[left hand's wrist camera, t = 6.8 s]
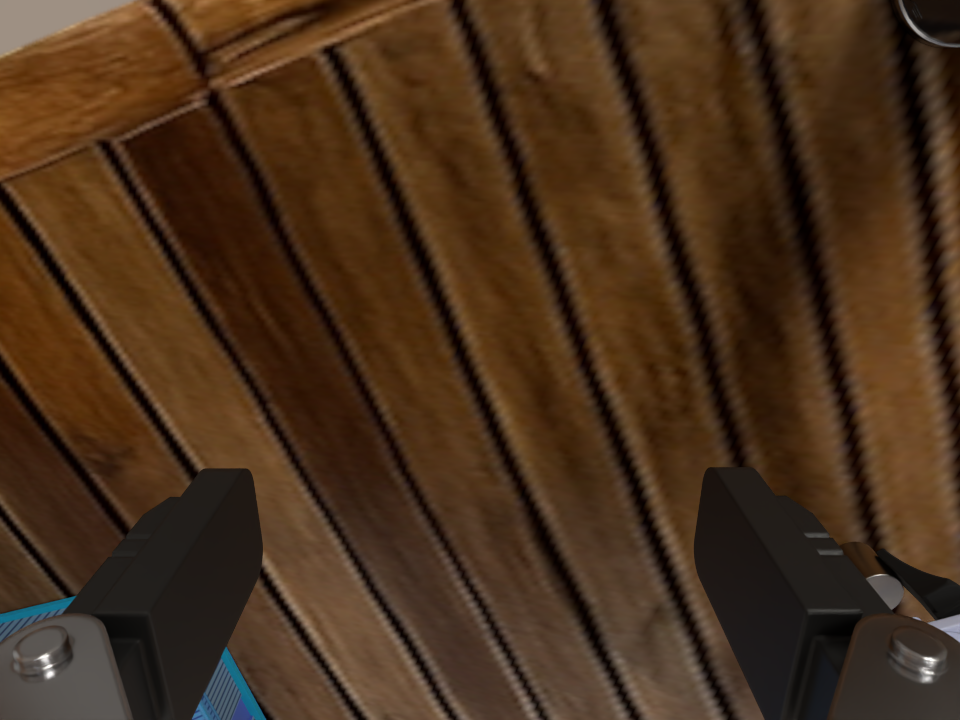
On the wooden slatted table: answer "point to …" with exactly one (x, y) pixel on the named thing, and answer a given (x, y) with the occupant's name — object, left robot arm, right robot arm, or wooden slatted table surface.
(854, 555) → the can
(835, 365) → the wooden slatted table surface
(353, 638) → the wooden slatted table surface
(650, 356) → the wooden slatted table surface
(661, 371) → the wooden slatted table surface
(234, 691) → the model building
